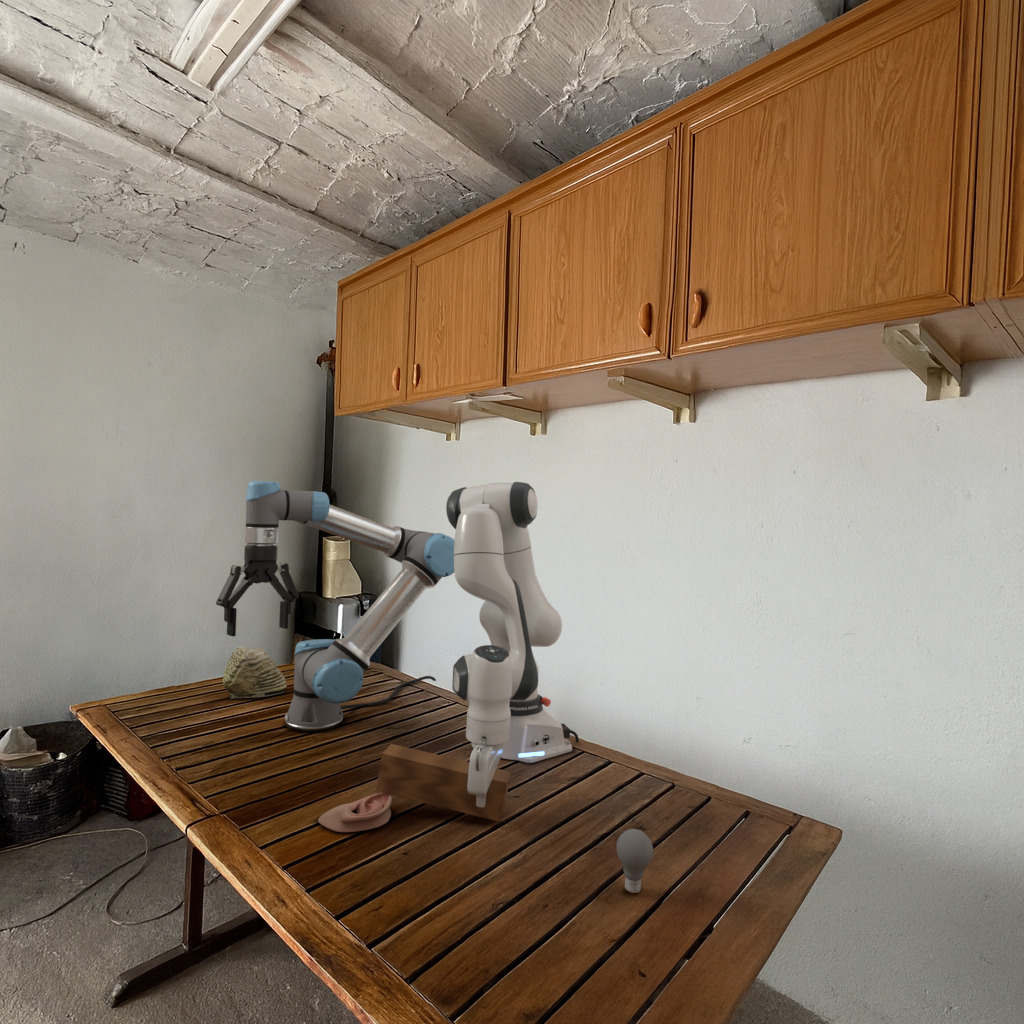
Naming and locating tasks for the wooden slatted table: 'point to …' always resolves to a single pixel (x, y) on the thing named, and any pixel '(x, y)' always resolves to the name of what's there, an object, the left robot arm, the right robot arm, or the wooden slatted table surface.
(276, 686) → the fossil
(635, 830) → the light bulb
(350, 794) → the wooden slatted table surface
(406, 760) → the bar
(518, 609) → the right robot arm
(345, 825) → the anatomical model
